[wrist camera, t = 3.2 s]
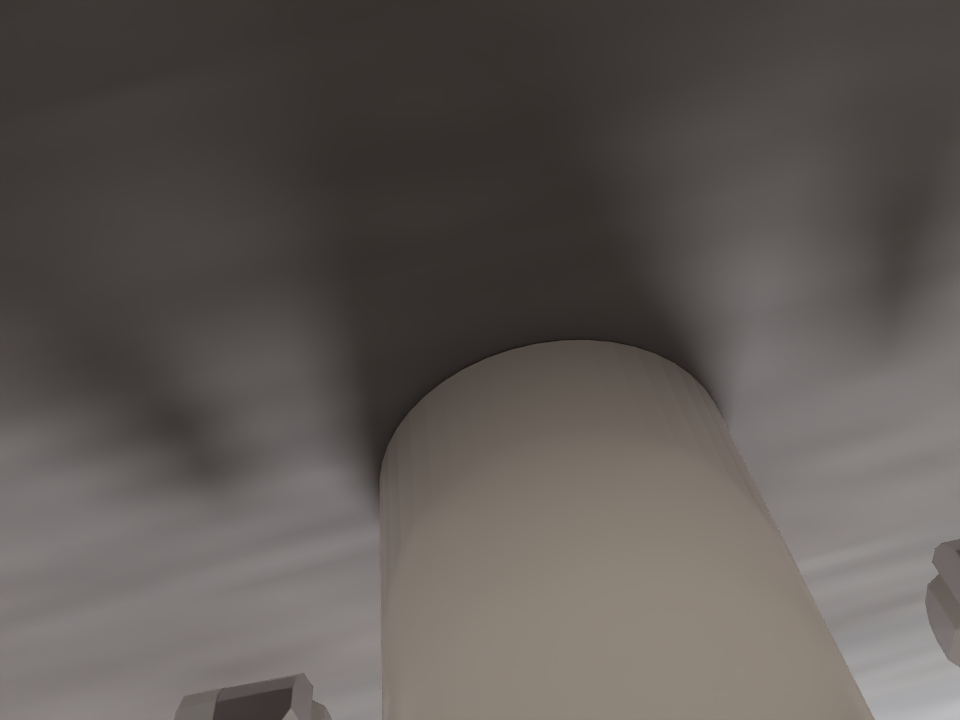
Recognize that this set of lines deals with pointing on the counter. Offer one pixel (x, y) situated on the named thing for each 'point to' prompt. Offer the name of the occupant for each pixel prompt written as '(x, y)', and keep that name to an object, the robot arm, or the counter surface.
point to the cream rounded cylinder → (589, 554)
